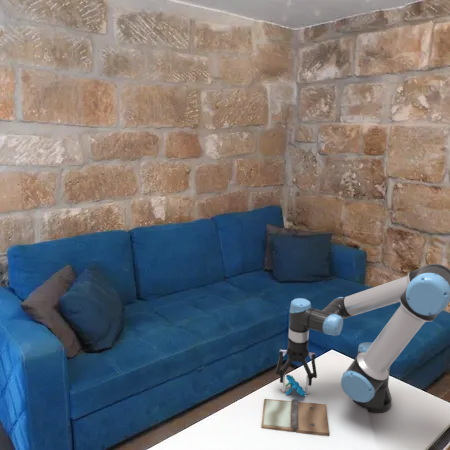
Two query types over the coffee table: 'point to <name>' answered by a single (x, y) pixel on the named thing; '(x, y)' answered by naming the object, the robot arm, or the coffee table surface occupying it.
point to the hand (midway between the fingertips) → (295, 390)
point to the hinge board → (295, 417)
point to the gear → (294, 385)
